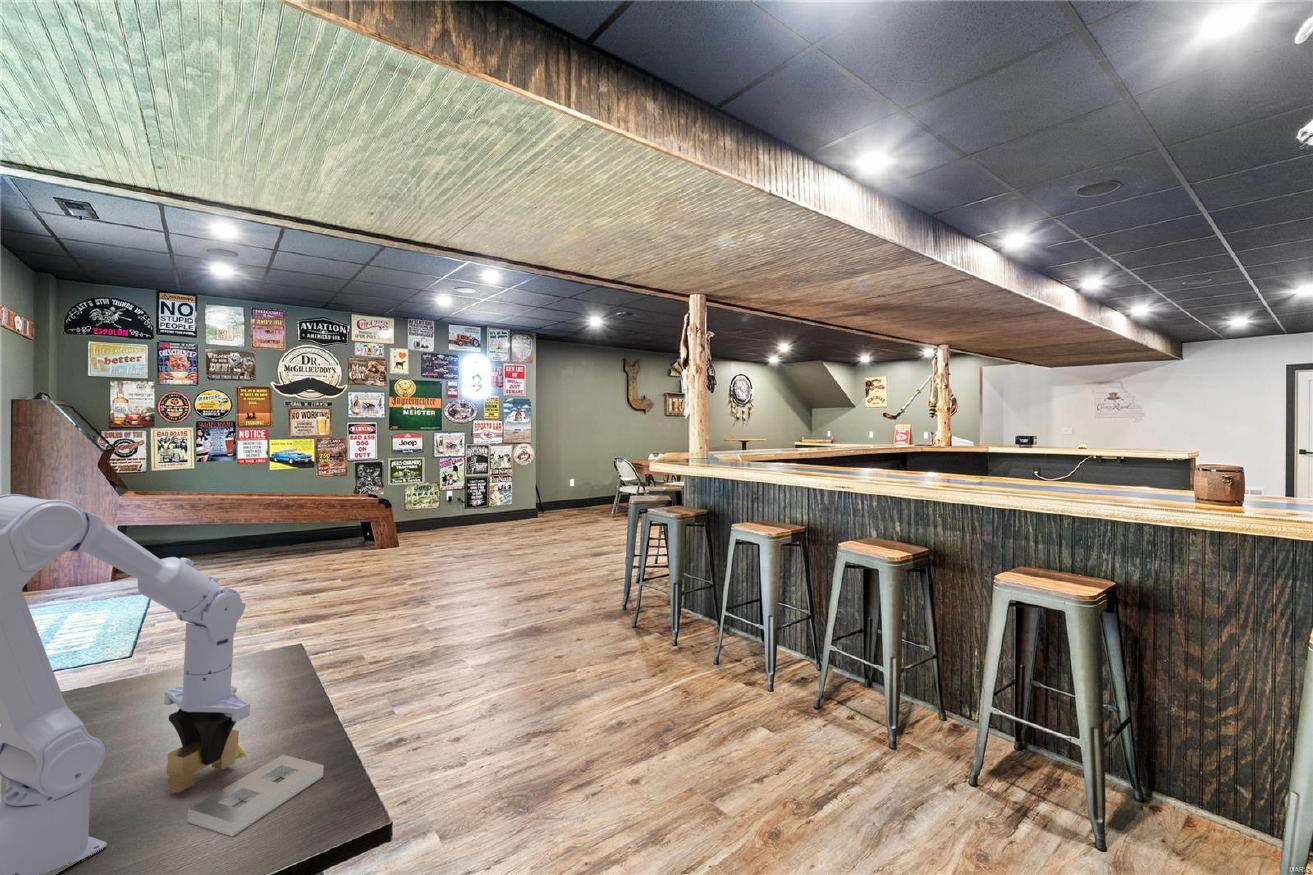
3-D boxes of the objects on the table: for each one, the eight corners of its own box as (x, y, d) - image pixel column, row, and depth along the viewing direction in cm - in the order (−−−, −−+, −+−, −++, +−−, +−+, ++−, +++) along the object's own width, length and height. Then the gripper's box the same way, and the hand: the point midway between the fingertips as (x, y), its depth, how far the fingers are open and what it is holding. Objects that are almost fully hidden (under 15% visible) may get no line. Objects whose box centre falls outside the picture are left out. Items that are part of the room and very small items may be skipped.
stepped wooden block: (181, 793, 81) (183, 757, 81) (166, 788, 82) (168, 753, 82) (237, 763, 89) (238, 731, 89) (222, 759, 90) (224, 727, 90)
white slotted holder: (232, 836, 75) (233, 822, 75) (187, 822, 77) (188, 808, 77) (322, 776, 88) (323, 765, 88) (282, 766, 90) (282, 754, 90)
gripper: (270, 665, 87) (266, 755, 87) (200, 651, 91) (196, 736, 91) (224, 683, 81) (219, 780, 81) (150, 667, 85) (145, 759, 85)
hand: (203, 759), depth 85 cm, fingers closed on stepped wooden block, 3 cm apart
